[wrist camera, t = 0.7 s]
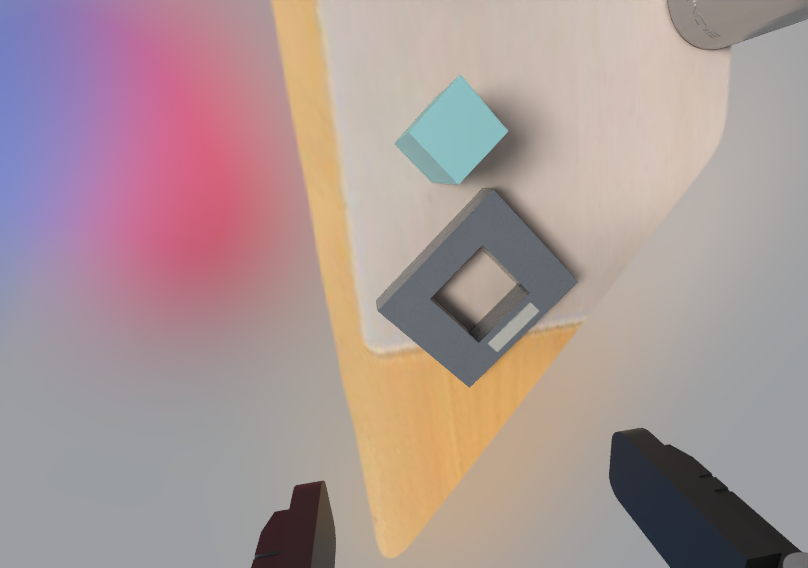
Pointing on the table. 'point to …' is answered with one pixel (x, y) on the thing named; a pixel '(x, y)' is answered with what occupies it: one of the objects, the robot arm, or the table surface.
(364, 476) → the table surface
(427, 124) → the teal peg
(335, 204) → the table surface
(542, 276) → the rail plate
